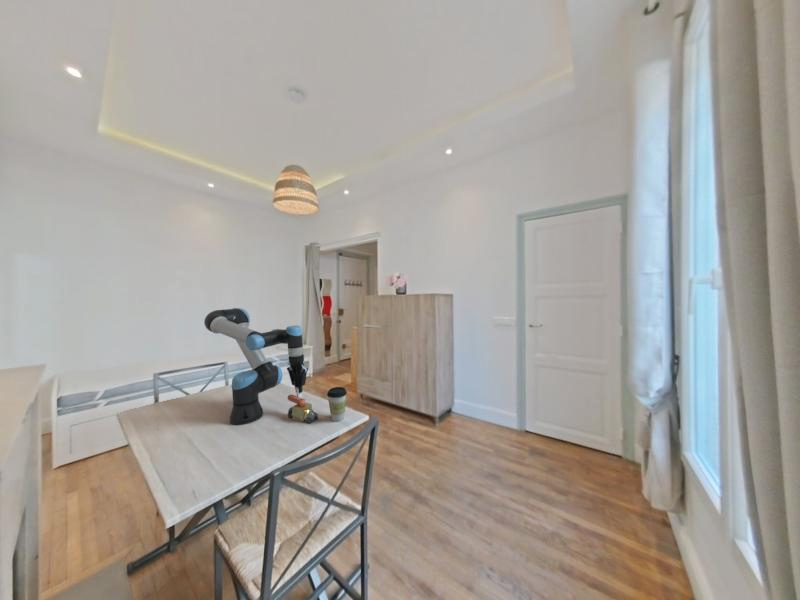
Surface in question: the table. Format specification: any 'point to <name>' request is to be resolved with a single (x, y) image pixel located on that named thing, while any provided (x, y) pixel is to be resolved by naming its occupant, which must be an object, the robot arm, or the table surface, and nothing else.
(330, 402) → the coffee cup
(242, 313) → the robot arm
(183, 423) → the table surface
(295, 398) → the lever
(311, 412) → the pipe run
